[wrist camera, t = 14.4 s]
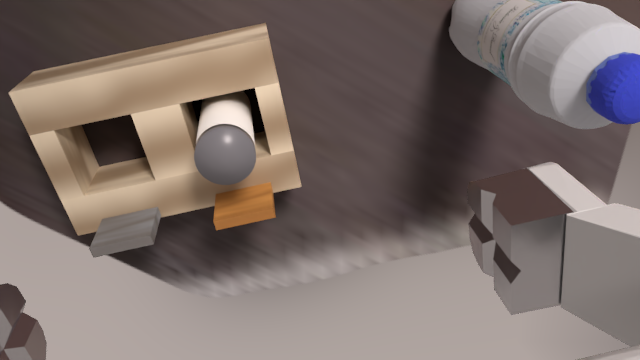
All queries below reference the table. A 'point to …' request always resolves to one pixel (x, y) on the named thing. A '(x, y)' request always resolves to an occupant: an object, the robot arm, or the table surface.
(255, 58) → the socket block
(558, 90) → the bottle
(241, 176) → the white grey cylinder
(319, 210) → the table surface
